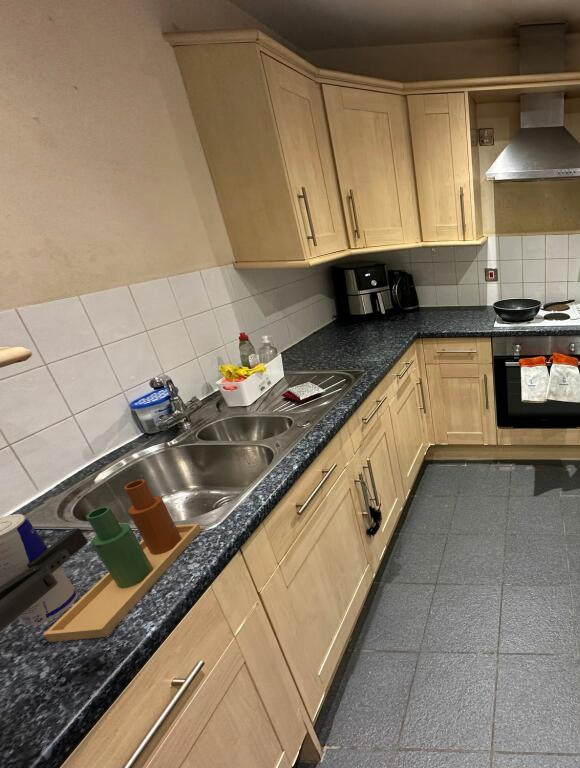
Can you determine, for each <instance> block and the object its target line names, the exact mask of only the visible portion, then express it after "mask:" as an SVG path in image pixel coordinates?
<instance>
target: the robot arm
mask: <svg viewBox="0 0 580 768" xmlns="http://www.w3.org/2000/svg"><path fill="white" fill-rule="evenodd" d="M88 543H89V541H88V540H87V538H86V537H85V535H84V534H83V532H82V530H81V529H80V528H79V527H77V528H72V529H71V530H70V531H69V532H67V533H66V534H65V535H64V536H62V537H61V538H59V539H58V540H57V541H56V542H55V543H53V544H52V545H50V546H49V547H47V548H48V549H47V550H45V551H44V552H43V553H42V554H40V555H39V556H38V557H37V558H35V559H34V560H32V561H31V562H30V563H29V564H27V566H28V567H29V569H27V570H26V571H24V572H23V573H21V574H19V575H18V576H16V577H15V578H13V579H11V580H10V581H8V582H7V583H5V584H3V585H2V586H0V632H2V631H3V630H4V629H5V628H7V627H8V626H9V625H10V624H12V623H13V622H14V621H15V620H17V619H18V618H17V617H18V616H20V615H21V614H22V613H23V612H24V611H26V610H27V609H28V608H29V607H30V606H32V605H33V604H34V603H35V602H36V601H38V600H39V599H40V598H41V597H42V596H44V595H45V594H46V593H47V592H48V591H50V590H51V589H52V588H53V587H54V586H56V585H57V583H58V582H57V581H56V579H55V578H54V576H53V575H52V573H53V572H54V571H55V570H57V569H58V568H59V567H62V565H64V564H65V563H66V562H68V560H70V558H71V557H73V555H75V554H76V553H77V552H78V551H80V550H82V548H83V547H85V546H86V545H87V544H88Z"/></svg>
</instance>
